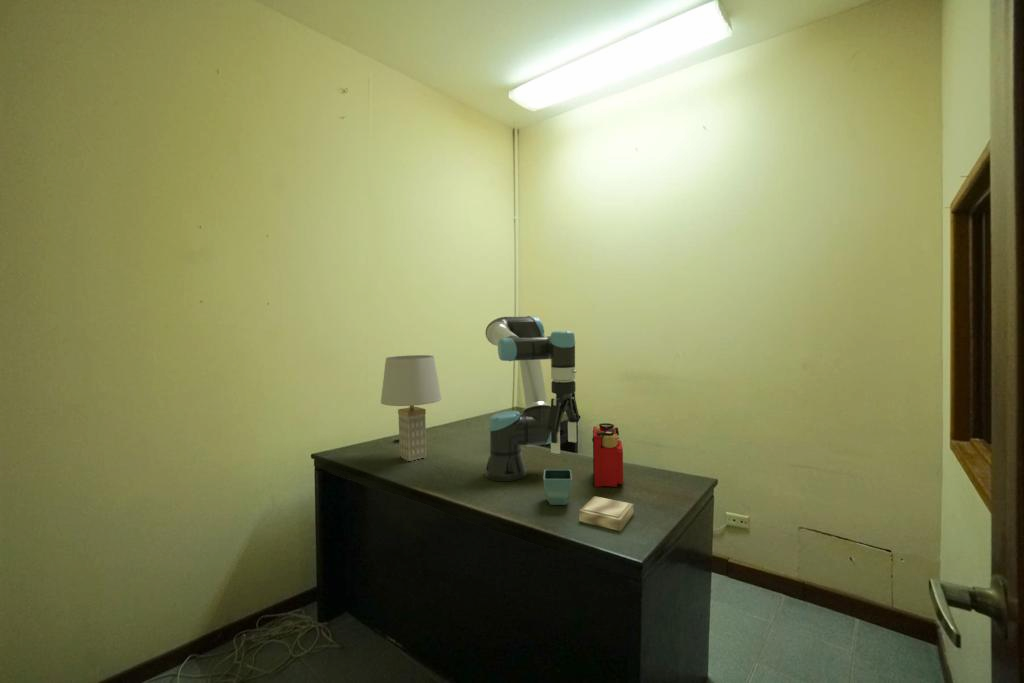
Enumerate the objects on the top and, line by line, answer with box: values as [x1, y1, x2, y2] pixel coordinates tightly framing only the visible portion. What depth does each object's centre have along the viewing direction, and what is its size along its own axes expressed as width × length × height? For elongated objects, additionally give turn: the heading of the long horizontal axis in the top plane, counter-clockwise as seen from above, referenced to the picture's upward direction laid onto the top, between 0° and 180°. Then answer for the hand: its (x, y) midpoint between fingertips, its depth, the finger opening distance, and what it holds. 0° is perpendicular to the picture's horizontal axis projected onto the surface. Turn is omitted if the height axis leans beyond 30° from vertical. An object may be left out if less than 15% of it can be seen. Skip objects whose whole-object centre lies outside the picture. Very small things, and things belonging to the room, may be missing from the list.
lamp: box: [380, 354, 442, 460], centre depth 183 cm, size 25×25×44 cm
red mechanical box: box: [591, 422, 624, 488], centre depth 153 cm, size 16×10×20 cm, turn 168°
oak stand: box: [578, 495, 635, 532], centre depth 124 cm, size 12×12×3 cm
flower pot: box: [542, 469, 573, 506], centre depth 135 cm, size 9×9×9 cm
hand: (564, 447), depth 136 cm, fingers open, 13 cm apart
